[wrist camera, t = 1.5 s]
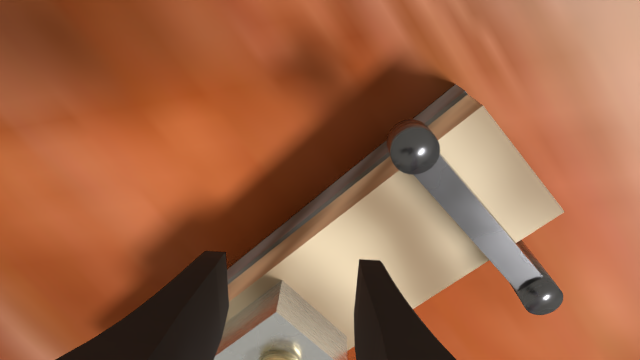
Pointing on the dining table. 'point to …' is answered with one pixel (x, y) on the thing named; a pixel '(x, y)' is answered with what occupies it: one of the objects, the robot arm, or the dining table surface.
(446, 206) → the lever
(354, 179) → the plane body
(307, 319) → the lever cap
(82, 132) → the dining table surface
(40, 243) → the dining table surface
